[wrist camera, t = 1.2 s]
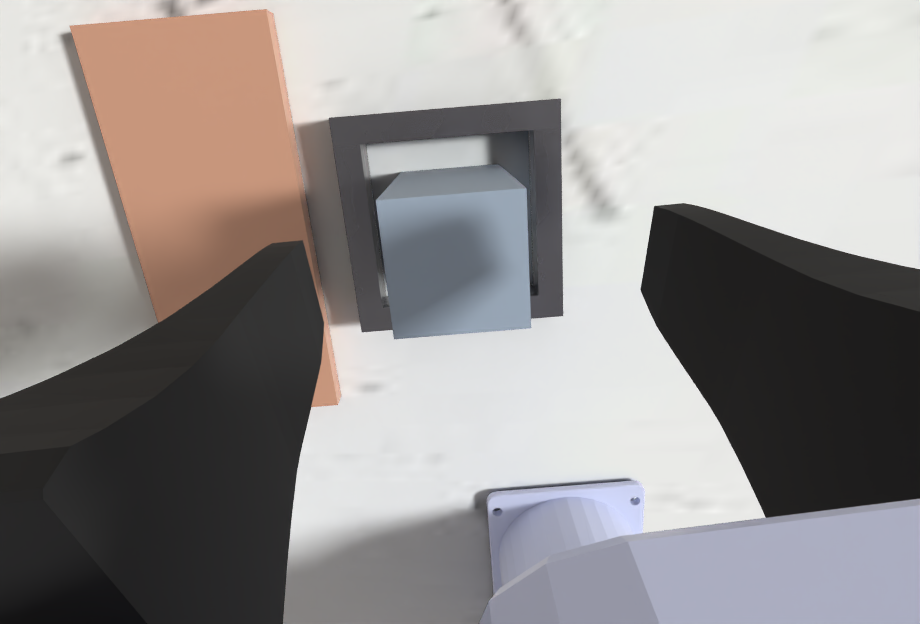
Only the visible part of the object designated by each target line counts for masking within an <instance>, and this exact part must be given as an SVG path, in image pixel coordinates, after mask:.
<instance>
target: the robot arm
mask: <svg viewBox="0 0 920 624" xmlns="http://www.w3.org/2000/svg"><path fill="white" fill-rule="evenodd" d="M641 292H642V294H643V297H644V299H645V302H646V304H647V306H648V309H649V311H650V313H651V315H652V317H653V319H654V321H655V323H656V326H657V327H658V329H659V331H660V332H661V334H662V335H663V337H664V338H665V340H666V341H667V343H668V344H669V346H670V348H671V349H672V351H673V352H674V354H675V355H676V357H677V358H678V360H679V361H680V363H681V364H682V366H683V367H684V369H685V370H686V371H687V373H688V374H689V376H690V377H691V379H692V380H693V382H694V383H695V385H696V386H697V388H698V389H699V391H700V392H701V394H702V395H703V397H704V398H705V400H706V401H707V403H708V404H709V406H710V407H711V409H712V411H713V412H714V414H715V416H716V417H717V419H718V421H719V422H720V424H721V426H722V428H723V430H724V432H725V434H726V436H727V438H728V440H729V442H730V444H731V446H732V447H733V449H734V451H735V453H736V455H737V457H738V459H739V461H740V463H741V465H742V467H743V469H744V471H745V474H746V476H747V478H748V480H749V482H750V484H751V486H752V489H753V491H754V493H755V495H756V497H757V499H758V501H759V503H760V506H761V508H762V510H763V512H764V514H765V517H766V518H761V519H753V520H745V521H737V522H729V523H721V524H713V525H705V526H696V527H688V528H680V529H672V530H664V531H656V532H648V533H643V520H644V501H645V489H644V487H643V485H642V484H641V483H640V482H638V481H622V482H609V483H597V484H584V485H572V486H559V487H547V488H534V489H521V490H509V491H496V492H492V493H491V494H489V495H488V497H487V512H488V525H489V539H490V552H491V566H492V579H493V593H494V596H493V597H492V598H491V599H490V600H489V602H488V604H487V606H486V609H485V611H484V613H483V615H482V618H481V620H480V622H479V624H920V269H915V268H910V267H905V266H900V265H896V264H891V263H887V262H883V261H878V260H874V259H869V258H865V257H861V256H857V255H853V254H849V253H845V252H841V251H838V250H834V249H831V248H827V247H824V246H821V245H817V244H814V243H810V242H807V241H804V240H800V239H797V238H794V237H791V236H788V235H785V234H782V233H779V232H776V231H773V230H770V229H767V228H764V227H761V226H758V225H755V224H752V223H749V222H746V221H744V220H741V219H738V218H735V217H732V216H729V215H726V214H723V213H720V212H717V211H713V210H710V209H707V208H703V207H699V206H695V205H690V204H684V203H682V204H671V205H661V206H654V211H653V217H652V224H651V230H650V236H649V242H648V248H647V254H646V260H645V267H644V273H643V279H642V285H641ZM323 335H324V320H323V316H322V312H321V308H320V305H319V301H318V297H317V293H316V289H315V285H314V281H313V277H312V274H311V270H310V266H309V262H308V258H307V254H306V250H305V246H304V243H303V240H300V241H289V242H279V243H272V244H270V245H268V246H266V247H265V248H263V249H262V250H260V251H259V252H257V253H256V254H255V255H253V256H252V257H251V258H249V259H248V260H247V261H245V262H244V263H243V264H241V265H240V266H239V267H237V268H236V269H235V270H233V271H232V272H231V273H229V274H228V275H227V276H226V277H224V278H223V279H222V280H220V281H219V282H218V283H216V284H215V285H214V286H212V287H211V288H210V289H208V290H207V291H205V292H204V293H202V294H201V295H199V296H198V297H197V298H195V299H194V300H192V301H191V302H189V303H188V304H186V305H185V306H184V307H182V308H181V309H179V310H178V311H176V312H175V313H173V314H172V315H170V316H169V317H167V318H166V319H164V320H163V321H161V322H159V323H158V324H156V325H154V326H153V327H151V328H149V329H148V330H146V331H144V332H142V333H141V334H139V335H137V336H135V337H133V338H132V339H130V340H128V341H126V342H124V343H123V344H121V345H119V346H117V347H115V348H113V349H111V350H109V351H107V352H105V353H103V354H101V355H99V356H97V357H95V358H92V359H90V360H88V361H86V362H84V363H82V364H80V365H78V366H76V367H73V368H71V369H69V370H67V371H65V372H63V373H61V374H59V375H57V376H54V377H52V378H50V379H48V380H45V381H43V382H40V383H38V384H36V385H33V386H31V387H28V388H26V389H23V390H21V391H18V392H16V393H14V394H11V395H8V396H6V397H3V398H0V624H283V612H284V598H285V585H286V571H287V560H288V549H289V539H290V528H291V518H292V509H293V500H294V492H295V483H296V474H297V468H298V463H299V457H300V452H301V448H302V443H303V439H304V435H305V431H306V427H307V422H308V418H309V414H310V410H311V405H312V401H313V397H314V393H315V388H316V384H317V380H318V375H319V371H320V366H321V360H322V349H323ZM633 497H637V498H636V499H635V500H631V499H632V498H633ZM495 508H500V510H499V511H494V509H495Z"/></svg>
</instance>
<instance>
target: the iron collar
mask: <svg viewBox="0 0 920 624" xmlns="http://www.w3.org/2000/svg"><path fill="white" fill-rule="evenodd" d="M329 123H330V129H331V136H332V142H333V149H334V155H335V162H336V168H337V175H338V181H339V188H340V194H341V201H342V207H343V214H344V220H345V227H346V233H347V239H348V246H349V252H350V259H351V265H352V272H353V278H354V285H355V291H356V298H357V304H358V311H359V317H360V324H361V330H362V332H371V331H384V330H393V328H392V320H391V313H390V305H389V297H386V290H385V283H384V275H383V268H382V260H381V253H380V246H379V238H378V231H377V223H376V216H375V208H374V201H373V193H372V186H371V178H370V171H369V163H368V156H367V148H366V144H370V143H382V142H394V141H406V140H418V139H430V138H442V137H454V136H466V135H478V134H490V133H502V132H514V131H526V130H528V137H529V169H530V201H531V234H532V266H533V285H530V309H531V319H532V318H544V317H556V316H563V270H562V175H561V99H551V100H539V101H527V102H515V103H503V104H491V105H478V106H466V107H454V108H442V109H430V110H418V111H406V112H394V113H382V114H370V115H358V116H346V117H334V118H329Z"/></svg>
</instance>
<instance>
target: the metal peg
mask: <svg viewBox="0 0 920 624" xmlns="http://www.w3.org/2000/svg"><path fill="white" fill-rule="evenodd" d="M376 207H377V214H378V222H379V229H380V237H381V244H382V252H383V260H384V267H385V275H386V282H387V290H388V297H389V305H390V313H391V320H392V328H393V335H394V339H403V338H415V337H428V336H440V335H452V334H465V333H477V332H489V331H502V330H514V329H526V328H531V309H530V279H529V249H528V219H527V189H526V187H525V186H523V185H522V184H521V183H520V182H519V181H518V180H516V179H515V178H514V177H513V176H512V175H511V174H509V173H508V172H507V171H506V170H505V169H504V168H503V167H501V166H500V165H499V164H493V165H481V166H469V167H457V168H445V169H433V170H420V171H408V172H400V174H399V175H398V176H397V177H396V178H395V179H394V180H393V181H392V183H391V184H390V185H389V186H388V187H387V188H386V189H385V191H384V192H383V193H382V194H381V195H380V196H379V197H378V199H377V200H376Z"/></svg>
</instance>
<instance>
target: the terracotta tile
mask: <svg viewBox="0 0 920 624" xmlns="http://www.w3.org/2000/svg"><path fill="white" fill-rule="evenodd" d="M70 29H71V32H72V36H73V39H74V42H75V46H76V49H77V52H78V56H79V59H80V62H81V66H82V69H83V73H84V76H85V79H86V83H87V86H88V89H89V93H90V96H91V99H92V103H93V106H94V109H95V113H96V116H97V119H98V123H99V126H100V130H101V133H102V136H103V140H104V143H105V146H106V150H107V153H108V156H109V160H110V163H111V166H112V170H113V173H114V176H115V180H116V183H117V187H118V190H119V193H120V197H121V200H122V203H123V207H124V210H125V213H126V217H127V220H128V223H129V227H130V230H131V233H132V237H133V240H134V244H135V247H136V250H137V254H138V257H139V260H140V264H141V267H142V270H143V274H144V277H145V280H146V284H147V287H148V290H149V294H150V297H151V301H152V304H153V307H154V311H155V314H156V317H157V321H158V323H159V322H161V321H163V320H164V319H166V318H167V317H169V316H170V315H172V314H173V313H175V312H176V311H178V310H179V309H181V308H182V307H184V306H185V305H186V304H188V303H189V302H191V301H192V300H194V299H195V298H197V297H198V296H199V295H201V294H202V293H204V292H205V291H207V290H208V289H210V288H211V287H212V286H214V285H215V284H216V283H218V282H219V281H220V280H222V279H223V278H224V277H226V276H227V275H228V274H229V273H231V272H232V271H233V270H235V269H236V268H237V267H239V266H240V265H241V264H243V263H244V262H245V261H247V260H248V259H249V258H251V257H252V256H253V255H255V254H256V253H257V252H259V251H260V250H262V249H263V248H265V247H266V246H268V245H270V244H272V243H279V242H289V241H300V240H303V243H304V246H305V250H306V254H307V258H308V262H309V266H310V270H311V274H312V277H313V281H314V285H315V289H316V293H317V297H318V301H319V305H320V308H321V312H322V316H323V320H324V335H323V349H322V360H321V366H320V371H319V375H318V380H317V384H316V388H315V393H314V397H313V401H312V405H311V407H317V406H330V405H338V403H339V400H340V398H341V393H340V387H339V381H338V376H337V370H336V364H335V359H334V353H333V348H332V342H331V336H330V331H329V325H328V319H327V314H326V308H325V302H324V297H323V291H322V286H321V280H320V274H319V269H318V263H317V257H316V252H315V246H314V240H313V235H312V229H311V224H310V218H309V212H308V207H307V201H306V195H305V190H304V184H303V178H302V173H301V167H300V162H299V156H298V150H297V145H296V139H295V133H294V128H293V122H292V116H291V111H290V105H289V100H288V94H287V88H286V83H285V77H284V71H283V66H282V60H281V54H280V49H279V43H278V38H277V32H276V26H275V21H274V15H273V13H271V12H270V11H268V10H267V9H264V10H252V11H240V12H229V13H217V14H205V15H193V16H181V17H169V18H157V19H145V20H134V21H122V22H110V23H98V24H86V25H74V26H70Z"/></svg>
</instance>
